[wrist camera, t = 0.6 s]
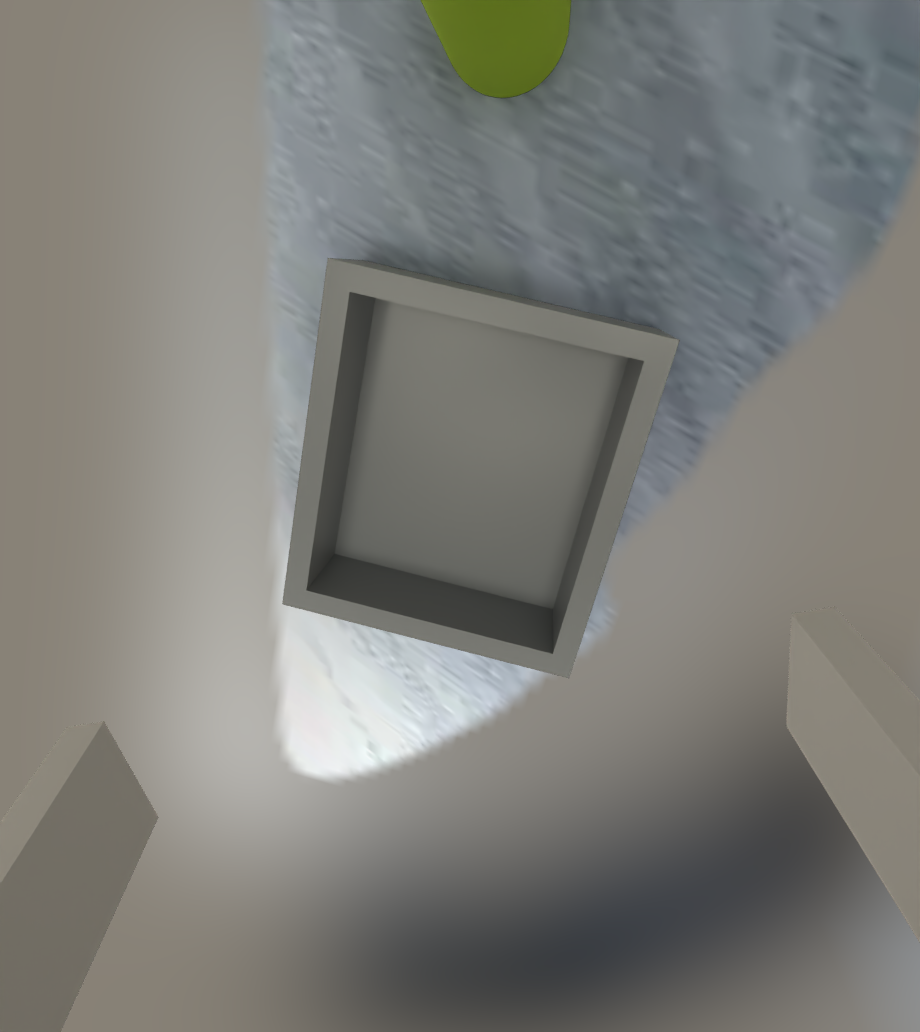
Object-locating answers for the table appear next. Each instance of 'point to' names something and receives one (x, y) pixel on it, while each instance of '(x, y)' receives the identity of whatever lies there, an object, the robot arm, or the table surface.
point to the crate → (467, 461)
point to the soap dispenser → (501, 41)
